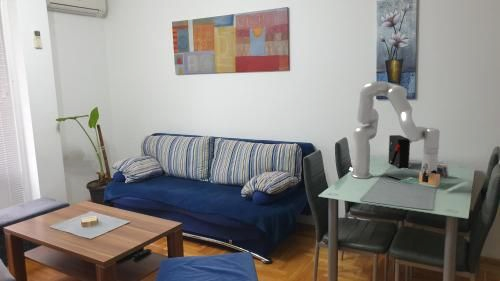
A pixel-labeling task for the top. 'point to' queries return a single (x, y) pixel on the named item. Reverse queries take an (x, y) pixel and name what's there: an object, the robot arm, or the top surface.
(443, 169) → the electrical switch
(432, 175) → the plug housing
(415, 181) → the pin header board
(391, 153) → the electrical component
